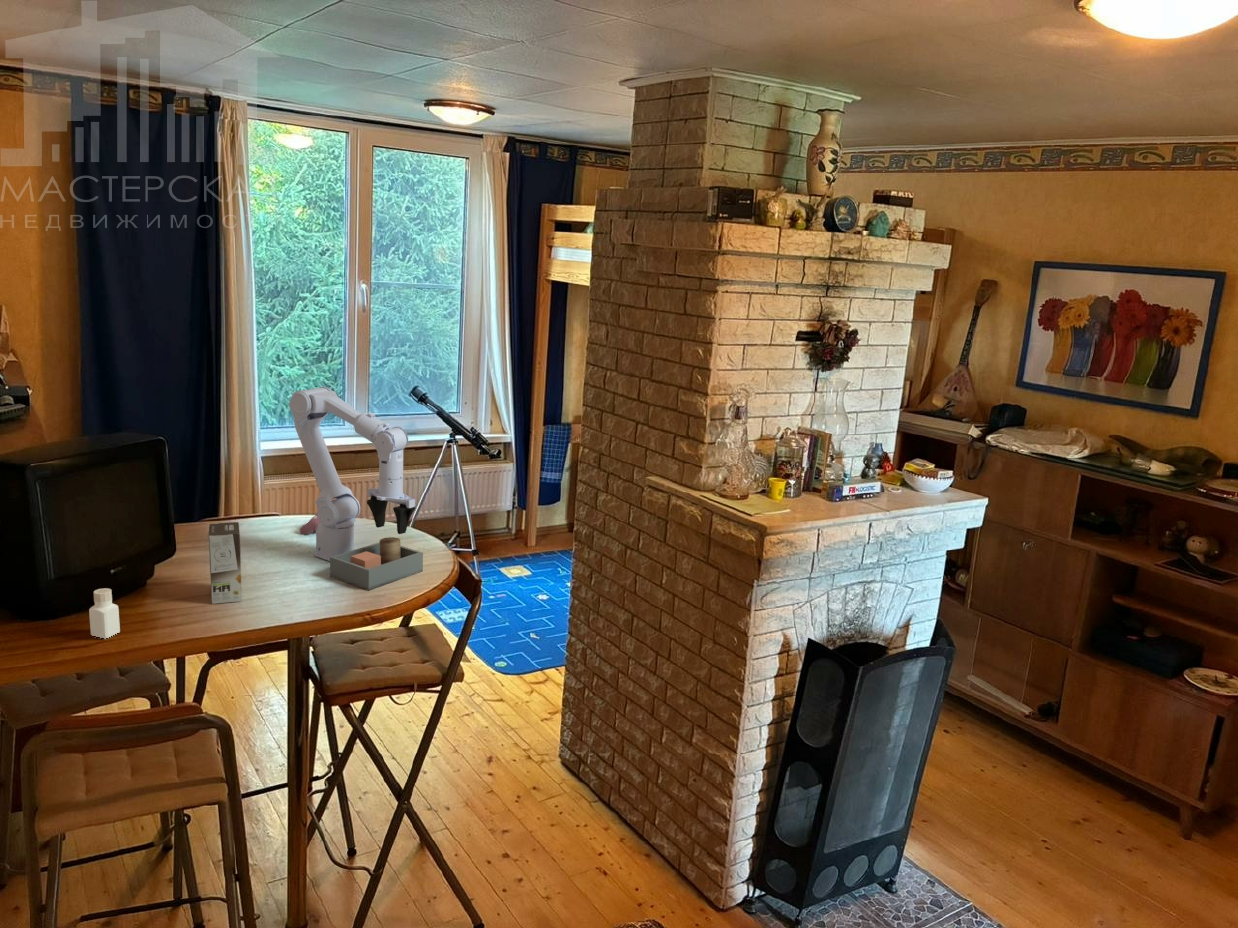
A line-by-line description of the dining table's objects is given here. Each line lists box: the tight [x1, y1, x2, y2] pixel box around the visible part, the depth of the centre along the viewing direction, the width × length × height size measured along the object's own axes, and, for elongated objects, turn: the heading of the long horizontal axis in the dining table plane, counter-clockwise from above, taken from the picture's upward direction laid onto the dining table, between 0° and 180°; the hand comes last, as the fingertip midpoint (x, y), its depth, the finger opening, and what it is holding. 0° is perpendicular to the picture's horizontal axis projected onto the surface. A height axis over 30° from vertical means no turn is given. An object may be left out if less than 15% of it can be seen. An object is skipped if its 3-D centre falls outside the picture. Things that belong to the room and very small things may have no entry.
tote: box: [329, 541, 424, 591], centre depth 230 cm, size 14×18×5 cm
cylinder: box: [379, 536, 401, 565], centre depth 233 cm, size 5×5×7 cm
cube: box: [351, 551, 381, 569], centre depth 227 cm, size 5×5×5 cm
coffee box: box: [208, 521, 242, 605], centre depth 210 cm, size 9×6×16 cm
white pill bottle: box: [88, 587, 121, 640], centre depth 187 cm, size 4×4×10 cm
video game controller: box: [299, 511, 321, 536], centre depth 260 cm, size 10×5×7 cm, turn 170°
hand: (390, 529), depth 232 cm, fingers open, 7 cm apart
